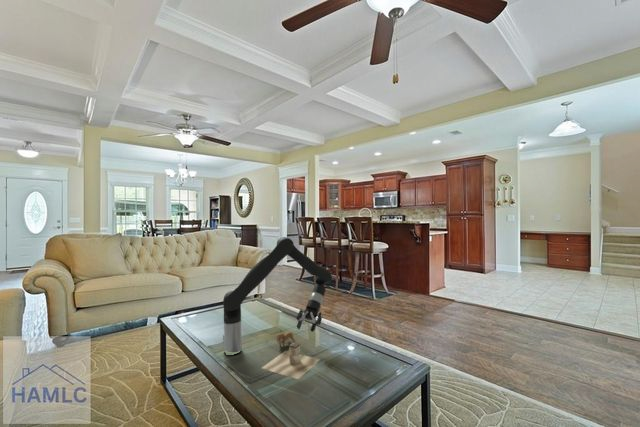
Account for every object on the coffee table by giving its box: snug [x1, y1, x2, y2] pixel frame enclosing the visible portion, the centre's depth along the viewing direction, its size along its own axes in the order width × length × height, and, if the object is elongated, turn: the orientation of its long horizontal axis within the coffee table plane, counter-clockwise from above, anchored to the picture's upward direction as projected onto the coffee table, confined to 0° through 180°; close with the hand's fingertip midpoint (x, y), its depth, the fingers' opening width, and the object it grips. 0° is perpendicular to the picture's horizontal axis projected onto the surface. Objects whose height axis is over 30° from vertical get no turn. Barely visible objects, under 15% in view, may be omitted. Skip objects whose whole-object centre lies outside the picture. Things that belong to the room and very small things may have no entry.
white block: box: [288, 341, 301, 365], centre depth 146 cm, size 4×4×9 cm
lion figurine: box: [275, 331, 295, 348], centre depth 166 cm, size 15×5×9 cm, turn 150°
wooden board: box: [261, 350, 321, 380], centre depth 144 cm, size 22×20×1 cm
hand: (304, 329), depth 154 cm, fingers open, 8 cm apart
